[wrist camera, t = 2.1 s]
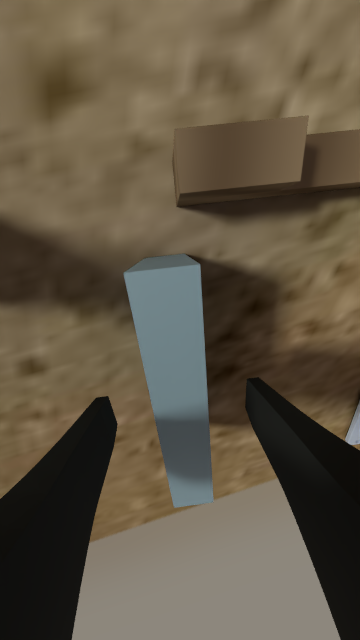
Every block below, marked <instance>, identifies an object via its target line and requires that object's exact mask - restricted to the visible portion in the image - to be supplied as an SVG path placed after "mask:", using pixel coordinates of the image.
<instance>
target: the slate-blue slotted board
mask: <svg viewBox="0 0 360 640" xmlns="http://www.w3.org/2000/svg"><path fill="white" fill-rule="evenodd" d="M124 278H125V283H126V287H127V292H128V297H129V301H130V306H131V310H132V315H133V320H134V324H135V329H136V334H137V338H138V343H139V347H140V352H141V357H142V361H143V366H144V371H145V375H146V380H147V384H148V389H149V394H150V398H151V403H152V408H153V412H154V417H155V421H156V426H157V431H158V435H159V440H160V444H161V449H162V454H163V458H164V463H165V468H166V472H167V477H168V481H169V486H170V491H171V495H172V500H173V505H174V507H182V506H189V505H197V504H204V503H212V502H213V486H212V468H211V450H210V432H209V414H208V396H207V378H206V360H205V342H204V324H203V306H202V288H201V270H200V264H199V263H197V262H196V261H195V260H193V259H192V258H190V257H189V256H187V255H186V254H177V255H168V256H159V257H149V258H144V259H143V260H141V261H140V262H139V263H137V264H136V265H134V266H133V267H131V268H130V269H128V270H127V271H125V272H124Z"/></svg>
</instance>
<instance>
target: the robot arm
mask: <svg viewBox="0 0 360 640" xmlns="http://www.w3.org/2000/svg"><path fill="white" fill-rule="evenodd" d="M245 408H246V411H247V414H248V416H249V419H250V422H251V424H252V427H253V429H254V431H255V433H256V435H257V437H258V439H259V441H260V443H261V445H262V447H263V449H264V451H265V453H266V455H267V457H268V459H269V461H270V463H271V465H272V467H273V469H274V471H275V473H276V475H277V477H278V479H279V482H280V484H281V486H282V488H283V490H284V492H285V495H286V497H287V500H288V502H289V505H290V507H291V509H292V512H293V514H294V516H295V519H296V522H297V524H298V526H299V529H300V532H301V534H302V537H303V540H304V542H305V545H306V547H307V550H308V552H309V555H310V557H311V560H312V562H313V565H314V568H315V571H316V573H317V576H318V579H319V581H320V584H321V587H322V589H323V592H324V594H325V597H326V600H327V602H328V605H329V608H330V611H331V614H332V617H333V619H334V622H335V625H336V628H337V630H338V633H339V636H340V639H341V640H360V450H358V449H356V448H355V447H353V446H352V445H354V444H360V401H359V404H358V406H357V409H356V412H355V414H354V417H353V420H352V422H351V425H350V428H349V430H348V433H347V436H346V438H345V441H346V442H345V441H344V440H342V439H340V438H339V437H337V436H336V435H334V434H333V433H331V432H330V431H328V430H327V429H325V428H324V427H322V426H321V425H319V424H318V423H317V422H315V421H314V420H312V419H311V418H310V417H308V416H307V415H305V414H304V413H303V412H301V411H300V410H299V409H297V408H296V407H295V406H294V405H292V404H291V403H290V402H288V401H287V400H286V399H285V398H283V397H282V396H281V395H280V394H278V393H277V392H276V391H275V390H273V389H272V388H271V387H270V386H269V385H267V384H266V383H265V382H264V381H262V380H261V379H260V378H259V377H257V378H249V379H247V385H246V404H245ZM116 431H117V421H116V418H115V415H114V412H113V409H112V406H111V403H110V400H109V397H108V396H106V397H98V398H96V399H95V400H94V401H93V402H92V403H91V404H90V405H89V407H88V408H87V409H86V410H85V411H84V412H83V414H82V415H81V416H80V417H79V418H78V419H77V421H76V422H75V423H74V424H73V425H72V426H71V428H70V429H69V430H68V431H67V432H66V433H65V434H64V435H63V437H62V438H61V439H60V440H59V441H58V442H57V443H56V444H55V445H54V446H53V447H52V448H51V450H50V451H49V452H48V453H47V454H46V455H45V456H44V457H43V458H42V459H41V460H40V461H39V462H38V463H37V464H36V465H35V466H34V467H33V468H32V469H31V470H30V471H29V472H28V473H27V474H26V475H25V476H24V477H23V478H22V479H21V480H20V481H19V482H18V483H17V484H16V485H15V486H14V487H13V488H12V489H11V490H10V491H9V492H8V493H6V494H5V495H4V496H3V497H2V498H1V499H0V640H72V633H73V628H74V622H75V616H76V610H77V605H78V599H79V593H80V587H81V582H82V576H83V571H84V566H85V561H86V555H87V550H88V545H89V540H90V535H91V531H92V526H93V521H94V516H95V512H96V508H97V504H98V501H99V497H100V494H101V490H102V487H103V483H104V480H105V476H106V473H107V469H108V466H109V462H110V458H111V455H112V451H113V447H114V442H115V437H116Z"/></svg>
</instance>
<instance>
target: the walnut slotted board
mask: <svg viewBox="0 0 360 640" xmlns="http://www.w3.org/2000/svg"><path fill="white" fill-rule="evenodd" d="M308 118H309V116H300V117H289V118H279V119H269V120H259V121H249V122H239V123H229V124H218V125H208V126H198V127H188V128H178V129H174V146H173V172H174V183H175V194H176V205H177V207H179V206H188V205H197V204H207V203H216V202H226V201H235V200H245V199H254V198H264V197H273V196H282V195H292V194H301V193H311V192H320V191H330V190H339V189H349V188H358V187H360V129H359V130H349V131H339V132H329V133H319V134H309V135H306V133H307V126H308Z"/></svg>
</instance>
